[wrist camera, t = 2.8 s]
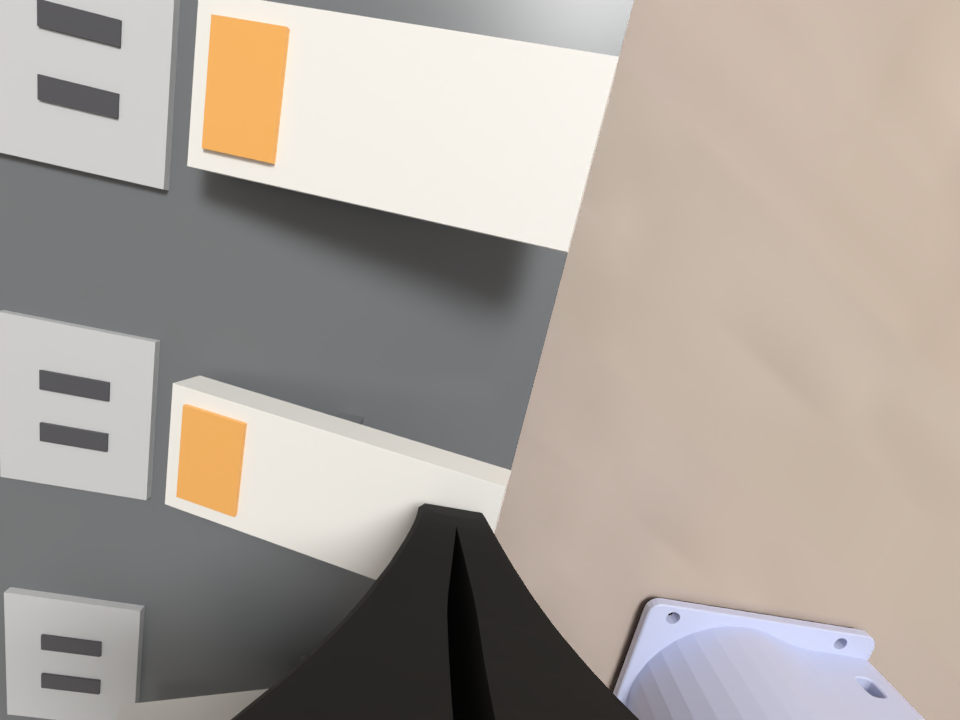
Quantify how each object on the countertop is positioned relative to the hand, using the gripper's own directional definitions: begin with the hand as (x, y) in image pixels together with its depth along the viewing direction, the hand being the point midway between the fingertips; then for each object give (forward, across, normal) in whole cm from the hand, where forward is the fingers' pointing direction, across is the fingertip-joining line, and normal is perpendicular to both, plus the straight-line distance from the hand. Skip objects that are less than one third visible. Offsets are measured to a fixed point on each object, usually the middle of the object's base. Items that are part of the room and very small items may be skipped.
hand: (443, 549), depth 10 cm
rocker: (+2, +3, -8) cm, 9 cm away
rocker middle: (+2, +3, 0) cm, 3 cm away
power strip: (+6, +5, 0) cm, 8 cm away
